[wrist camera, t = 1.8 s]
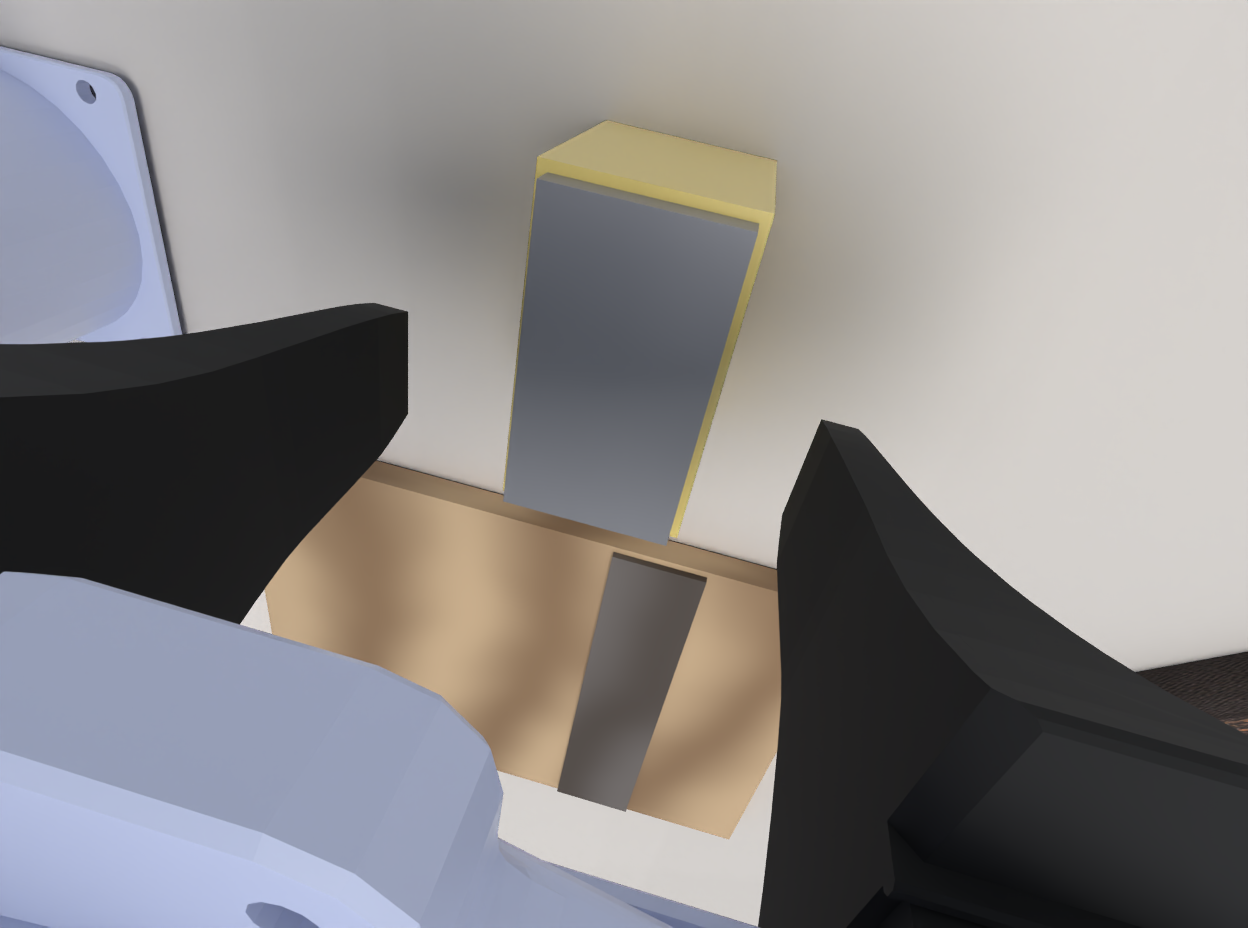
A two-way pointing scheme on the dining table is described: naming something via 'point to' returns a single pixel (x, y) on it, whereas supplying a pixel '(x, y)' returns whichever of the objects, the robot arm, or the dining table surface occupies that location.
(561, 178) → the block
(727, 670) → the board
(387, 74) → the dining table surface
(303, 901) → the robot arm
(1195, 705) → the hardcover book
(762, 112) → the dining table surface
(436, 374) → the dining table surface
